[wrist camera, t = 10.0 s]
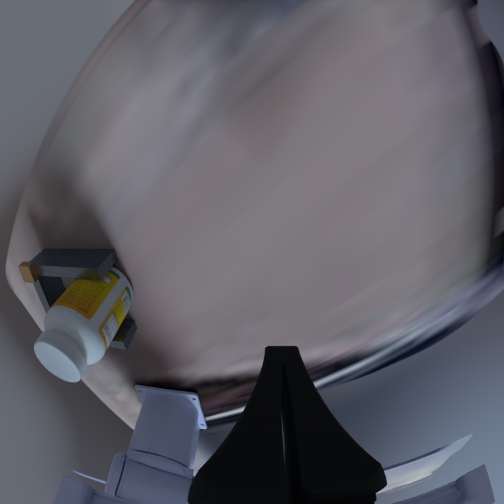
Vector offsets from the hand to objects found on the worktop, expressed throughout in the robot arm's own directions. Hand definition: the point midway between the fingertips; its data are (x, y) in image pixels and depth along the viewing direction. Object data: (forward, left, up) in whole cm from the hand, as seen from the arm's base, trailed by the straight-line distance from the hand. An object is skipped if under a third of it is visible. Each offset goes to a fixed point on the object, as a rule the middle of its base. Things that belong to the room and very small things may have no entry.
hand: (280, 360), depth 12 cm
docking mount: (-4, +17, -10) cm, 20 cm away
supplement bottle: (-4, +14, -10) cm, 18 cm away
